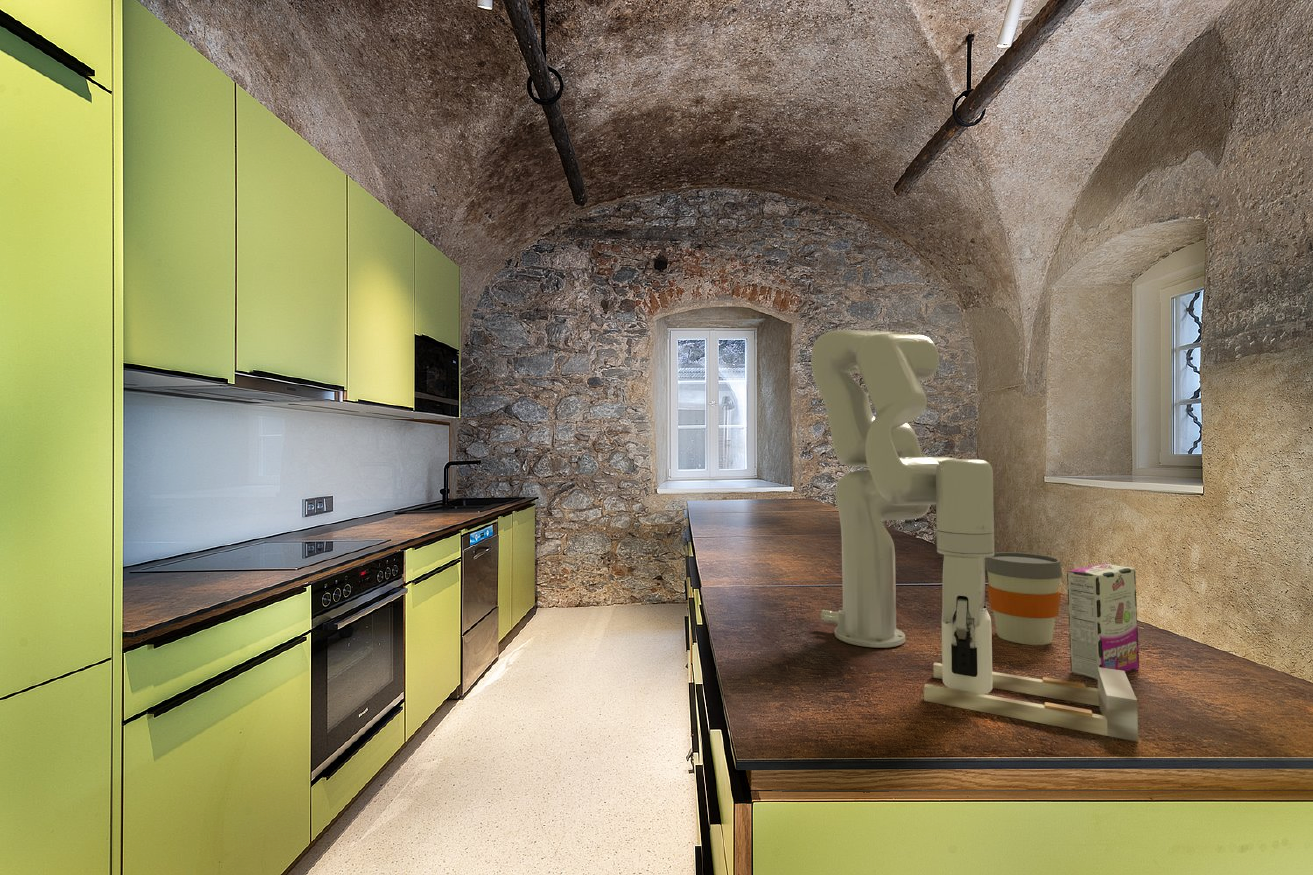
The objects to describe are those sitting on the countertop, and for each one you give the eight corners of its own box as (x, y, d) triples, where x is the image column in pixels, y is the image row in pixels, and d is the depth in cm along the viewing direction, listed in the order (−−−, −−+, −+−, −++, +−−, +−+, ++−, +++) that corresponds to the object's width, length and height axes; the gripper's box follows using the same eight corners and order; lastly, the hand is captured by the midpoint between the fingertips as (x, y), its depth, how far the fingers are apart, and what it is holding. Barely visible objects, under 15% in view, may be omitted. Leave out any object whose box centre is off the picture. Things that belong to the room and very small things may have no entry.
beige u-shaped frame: (924, 700, 86) (923, 665, 87) (934, 675, 96) (934, 643, 96) (1138, 741, 74) (1137, 700, 74) (1125, 707, 84) (1124, 670, 84)
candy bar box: (1105, 660, 102) (1103, 562, 102) (1140, 670, 98) (1138, 567, 98) (1067, 672, 97) (1065, 569, 97) (1102, 683, 93) (1099, 574, 93)
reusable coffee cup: (984, 641, 113) (982, 559, 113) (988, 624, 124) (986, 550, 124) (1065, 652, 106) (1063, 566, 107) (1062, 633, 117) (1060, 555, 117)
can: (999, 698, 85) (997, 611, 85) (949, 694, 86) (947, 609, 87) (984, 680, 91) (982, 600, 92) (937, 677, 93) (936, 598, 93)
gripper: (943, 534, 99) (945, 645, 98) (928, 550, 84) (930, 681, 83) (997, 537, 95) (999, 653, 94) (990, 554, 80) (993, 692, 80)
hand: (966, 665), depth 89 cm, fingers closed on can, 6 cm apart
